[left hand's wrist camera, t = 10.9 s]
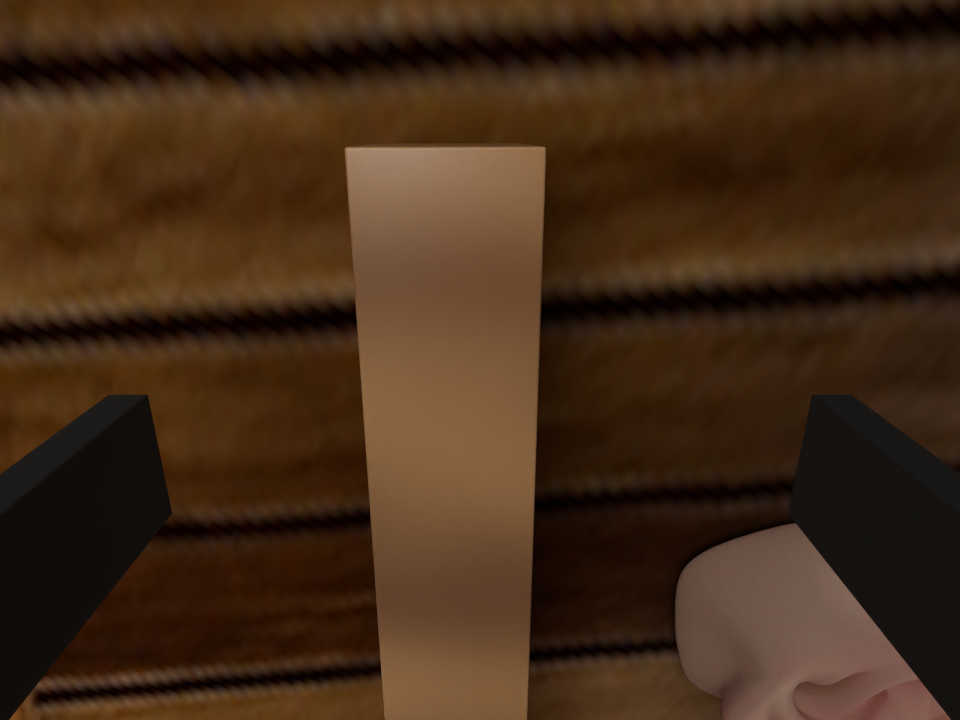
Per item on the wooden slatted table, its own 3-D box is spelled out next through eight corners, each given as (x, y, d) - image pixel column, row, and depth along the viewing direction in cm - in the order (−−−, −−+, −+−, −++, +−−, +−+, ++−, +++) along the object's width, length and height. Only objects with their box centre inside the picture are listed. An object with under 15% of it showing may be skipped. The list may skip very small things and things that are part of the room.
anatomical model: (653, 663, 23) (948, 514, 21) (626, 590, 27) (875, 458, 25) (793, 856, 27) (1052, 744, 25) (753, 769, 31) (975, 666, 29)
